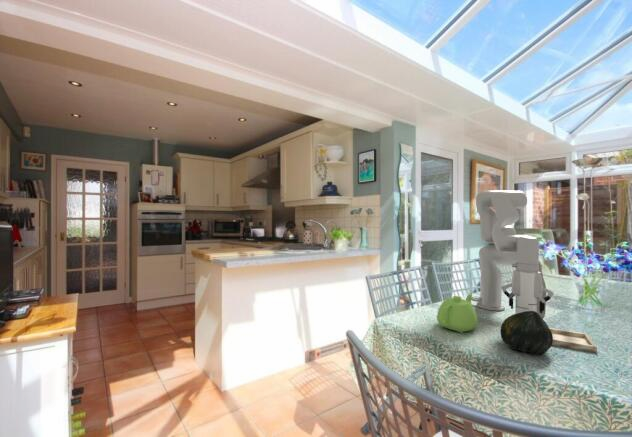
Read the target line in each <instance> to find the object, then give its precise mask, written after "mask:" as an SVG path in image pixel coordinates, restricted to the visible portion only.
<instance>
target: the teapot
mask: <svg viewBox="0 0 632 437" xmlns="http://www.w3.org/2000/svg"><path fill="white" fill-rule="evenodd" d="M471 297H473V293H469V294H467V295H466V298H465V299H462V297H461V296H459V295H455V296H452V297H448V298H444V299H443V301H442V303H441V304H440V306H439V307H438V310H437V313H436V314H437V315H436V320H437V322H438V324H439V325H440V326H441V327H442V328H444V327H445V328H444V329H449V330H452V331H456V332H457V331H458V332H457V333H459V332H463V333H464V332H469V331H473V330H474V329H475V327H476V326H477V325H478V323H479V322H478V317H477V316H478V314H477V313H476V309H475V308H474V306H473V304H472V300H471Z"/></svg>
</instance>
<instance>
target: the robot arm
mask: <svg viewBox="0 0 632 437" xmlns="http://www.w3.org/2000/svg"><path fill="white" fill-rule="evenodd" d="M475 197H476V198H475V206H476V210H477V214H478V215H479V220H480V223H479V224H480V238H481V240H482V241H483V243H487V244H493V245H486V246H485V245H484V246H482V247H480V249H479V250H478V258H479V264H480V285H479V286H480V287H479V288H480V290H479V291H480V293H479V294H480V295H479V296H477V297H475V296H472V297H471V301H472V302H476V306H477V307H478V308H481V309H484V310H488V311H489V310H490V311H498V312H499V311H504V310H505V308H506V307H505V305H503V304H502V295H503V294H504V295H505V296H507V298H508V307H510V309H511V310H514V297H516V295H517V296H520V272H528V273H535V279H534V298H539V299H540V304H539V311H540V313H542V312H543V311H544V310H545V303H546V304H547V302H548V301H550V300H551V299H552V297H553V296H554V294H555V293H554V292H553V291H552V290H550V289H548V288H547V287H546V288H544V287H543V285H542V275H541V272H539V271H538V270H539V261H540V259H539V258H540V257H539V255H540V253H539V252H540V240H539V238H538V237H534V236H530V235H525V234H517V231H516V229H515V227H514V226H512V225H513V224H515V223H516V222H517V221H518V220H519V219H520V214H519V212H518V210H517V209H519V210H520V209H521V210H522V209H524V208H525V207H526V206H527V204H528V198H527V195H526V194H525V192H523V191H522V190H495V189H494V190H493V189H492V190H491V189H490V190H482V191H479V192H478V193H477V194H476V196H475ZM499 265H501V266H511V267H512V268H514V269H513V271H512V277H511V283H507V284H504V285H503V273H502V272H501V270H500V268H499V267H498V266H499ZM510 288H511V292H510V293H509V292H508V290H507V289H510ZM543 291H545V292H546V297H544V298H543V297H542V295H543ZM502 292H503V294H502Z"/></svg>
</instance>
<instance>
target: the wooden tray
mask: <svg viewBox="0 0 632 437" xmlns="http://www.w3.org/2000/svg"><path fill="white" fill-rule="evenodd" d="M549 329H550V331H551V332H552V336H553V343H552V346H556V345H557V347H563V348H567V347H569V348H568V349H573V348H575V349H574V350H578V349H580V351H584V350H585V352H589V351H590V353H595V354H597V353H598V346H597V345H596V343H595V342H594V341H593V339H592V338H591V336H589V334H588V333H584V332H579V331H578V332H577V331H571V330H565V329H559V328H553V327H549Z"/></svg>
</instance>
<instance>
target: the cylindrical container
mask: <svg viewBox="0 0 632 437" xmlns="http://www.w3.org/2000/svg"><path fill="white" fill-rule="evenodd" d="M534 279H535V273H528V272H520V296H517V295H515V310H514V311H515V312H514V314H517V313H521V312H525V311H535V312H537V298H534Z"/></svg>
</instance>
